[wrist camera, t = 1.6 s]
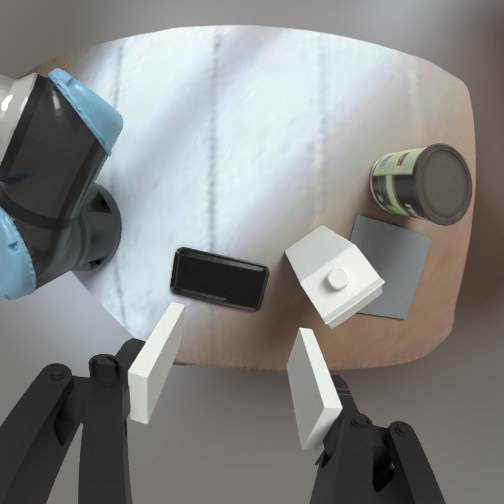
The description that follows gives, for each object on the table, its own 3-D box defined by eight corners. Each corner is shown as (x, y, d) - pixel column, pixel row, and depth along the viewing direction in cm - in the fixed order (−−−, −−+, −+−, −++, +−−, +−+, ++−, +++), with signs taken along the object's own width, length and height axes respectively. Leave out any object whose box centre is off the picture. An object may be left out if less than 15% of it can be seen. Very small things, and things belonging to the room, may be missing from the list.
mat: (329, 306, 46) (330, 307, 46) (356, 214, 43) (357, 214, 42) (403, 318, 47) (404, 319, 47) (430, 237, 43) (432, 237, 43)
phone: (176, 246, 43) (271, 267, 44) (178, 245, 44) (270, 265, 45) (169, 292, 45) (259, 313, 45) (171, 290, 46) (259, 310, 47)
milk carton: (344, 260, 44) (397, 307, 26) (308, 285, 45) (341, 347, 27) (321, 224, 43) (369, 252, 25) (284, 250, 44) (306, 297, 25)
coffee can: (413, 220, 43) (464, 234, 29) (363, 204, 42) (407, 213, 29) (424, 163, 41) (477, 161, 27) (375, 143, 40) (422, 130, 26)
